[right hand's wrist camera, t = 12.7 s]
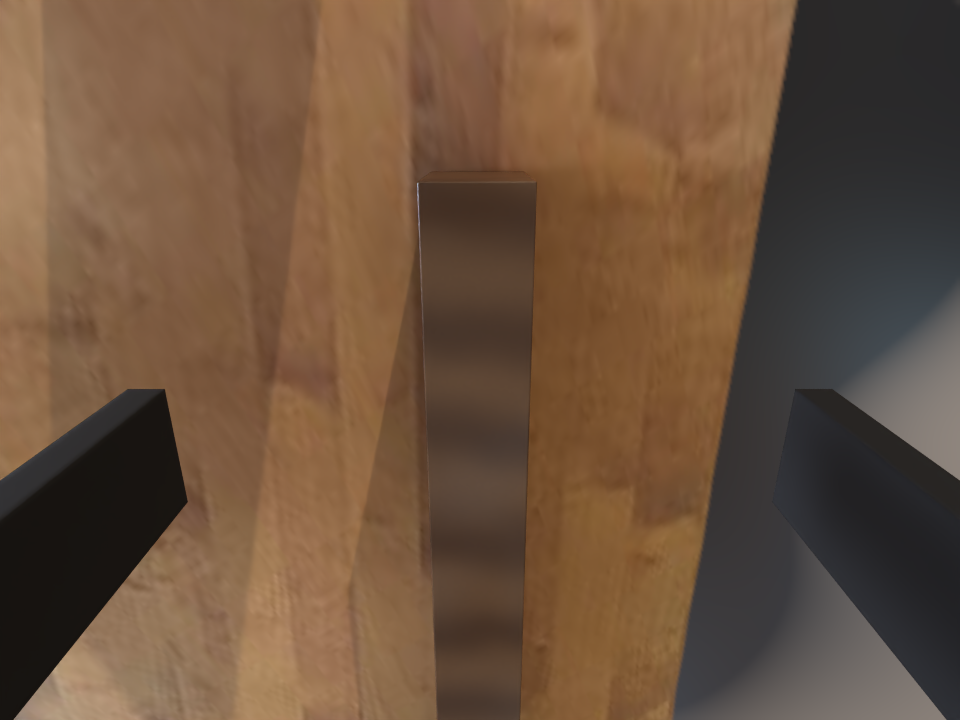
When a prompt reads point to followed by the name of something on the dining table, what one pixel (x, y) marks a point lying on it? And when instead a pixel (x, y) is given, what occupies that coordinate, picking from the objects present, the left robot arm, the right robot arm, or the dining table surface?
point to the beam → (477, 429)
